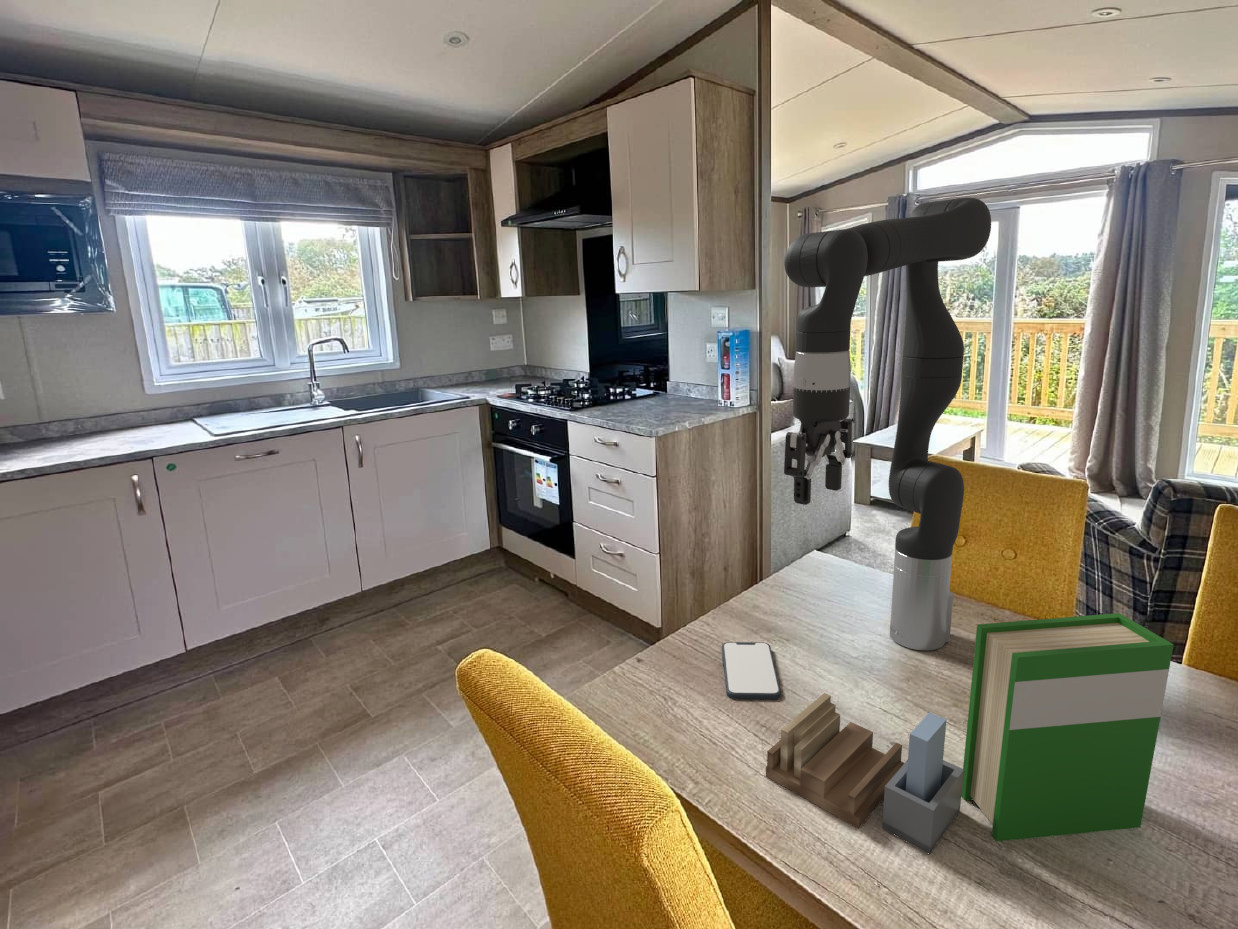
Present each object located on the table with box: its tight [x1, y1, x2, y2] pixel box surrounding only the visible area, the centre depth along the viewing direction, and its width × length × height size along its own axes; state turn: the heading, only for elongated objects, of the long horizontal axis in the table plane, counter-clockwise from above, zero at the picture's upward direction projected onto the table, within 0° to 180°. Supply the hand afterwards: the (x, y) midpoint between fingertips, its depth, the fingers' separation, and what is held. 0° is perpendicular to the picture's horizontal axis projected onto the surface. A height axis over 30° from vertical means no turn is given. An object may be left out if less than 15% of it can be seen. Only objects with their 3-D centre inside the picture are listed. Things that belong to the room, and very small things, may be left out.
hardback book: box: [961, 612, 1174, 843], centre depth 79 cm, size 18×7×24 cm, turn 94°
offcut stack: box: [780, 692, 841, 778], centre depth 91 cm, size 3×11×6 cm, turn 134°
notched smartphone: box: [721, 641, 782, 701], centre depth 114 cm, size 9×2×16 cm
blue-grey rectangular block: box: [906, 712, 948, 803], centre depth 80 cm, size 2×6×12 cm, turn 134°
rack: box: [765, 721, 905, 829], centre depth 89 cm, size 13×13×4 cm
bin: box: [881, 759, 964, 855], centre depth 81 cm, size 6×9×6 cm, turn 134°
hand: (818, 496), depth 96 cm, fingers open, 8 cm apart
